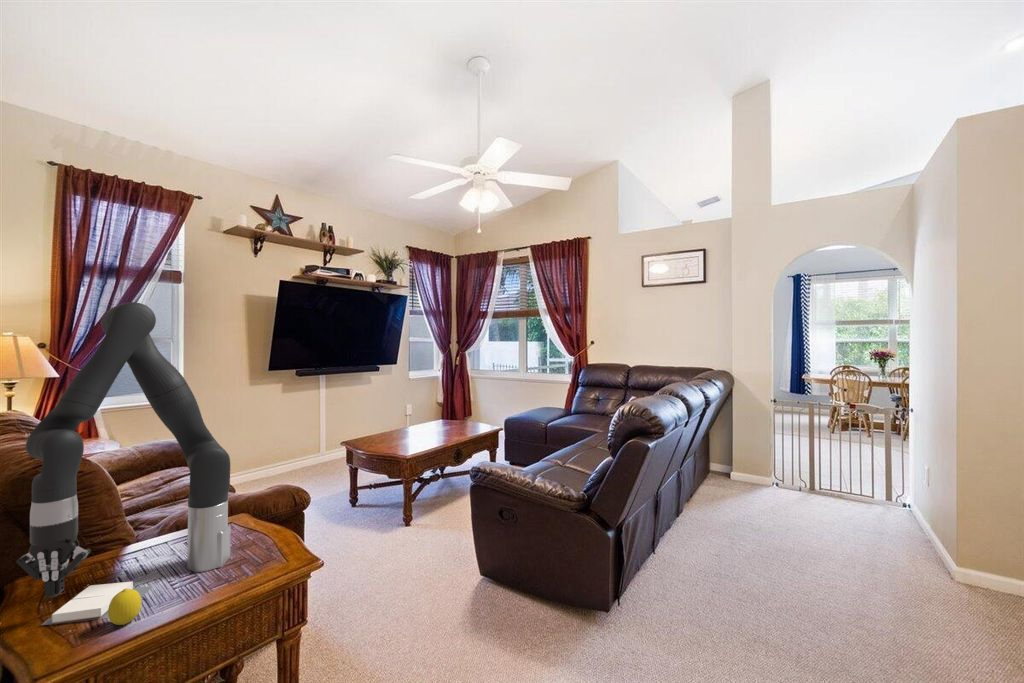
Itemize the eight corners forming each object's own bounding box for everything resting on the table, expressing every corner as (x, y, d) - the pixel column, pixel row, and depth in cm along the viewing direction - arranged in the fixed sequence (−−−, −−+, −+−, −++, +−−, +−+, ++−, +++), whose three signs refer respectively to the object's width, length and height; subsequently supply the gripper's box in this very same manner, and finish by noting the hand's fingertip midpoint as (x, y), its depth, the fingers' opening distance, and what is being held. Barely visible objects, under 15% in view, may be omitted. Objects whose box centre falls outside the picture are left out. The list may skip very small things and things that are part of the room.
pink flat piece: (71, 608, 102) (117, 602, 104) (52, 624, 97) (101, 617, 99) (71, 599, 102) (117, 593, 104) (52, 614, 97) (101, 608, 99)
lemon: (121, 618, 100) (121, 582, 100) (147, 617, 100) (147, 581, 100) (100, 634, 94) (101, 596, 94) (128, 633, 95) (128, 595, 95)
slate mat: (153, 588, 112) (153, 585, 112) (121, 618, 100) (121, 616, 100) (82, 595, 108) (82, 592, 108) (40, 628, 96) (40, 625, 96)
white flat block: (89, 594, 108) (132, 589, 110) (72, 607, 102) (118, 602, 105) (89, 585, 108) (132, 581, 110) (72, 598, 102) (118, 594, 105)
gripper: (101, 509, 104) (100, 582, 104) (32, 513, 101) (32, 589, 101) (77, 522, 97) (77, 601, 97) (3, 527, 94) (3, 608, 94)
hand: (54, 595), depth 99 cm, fingers closed
